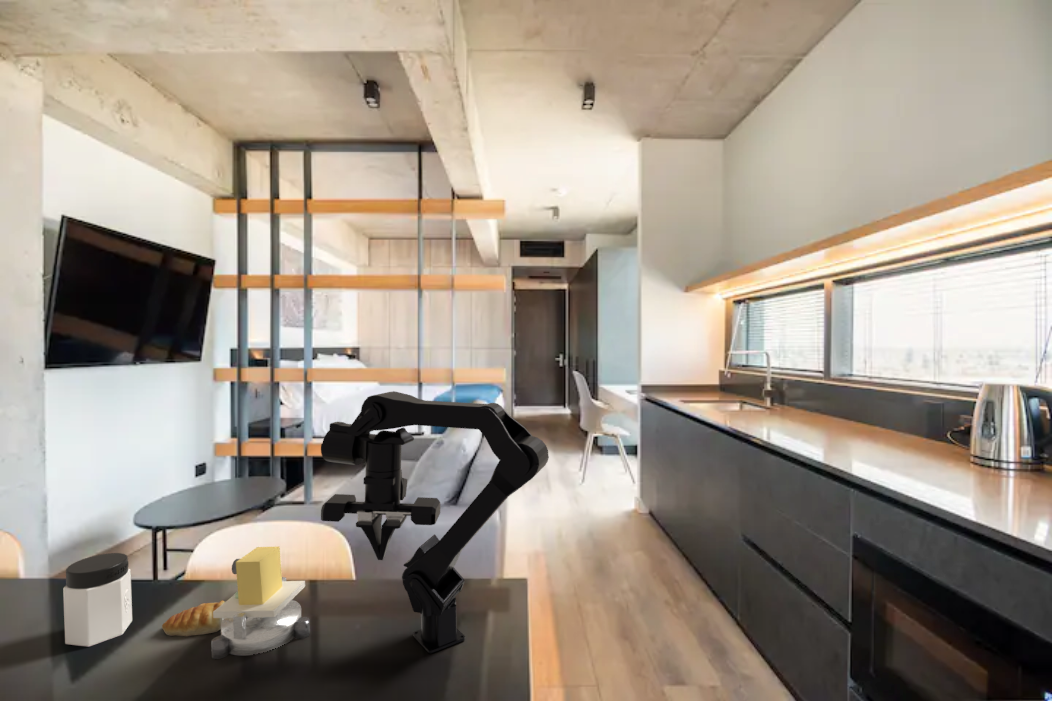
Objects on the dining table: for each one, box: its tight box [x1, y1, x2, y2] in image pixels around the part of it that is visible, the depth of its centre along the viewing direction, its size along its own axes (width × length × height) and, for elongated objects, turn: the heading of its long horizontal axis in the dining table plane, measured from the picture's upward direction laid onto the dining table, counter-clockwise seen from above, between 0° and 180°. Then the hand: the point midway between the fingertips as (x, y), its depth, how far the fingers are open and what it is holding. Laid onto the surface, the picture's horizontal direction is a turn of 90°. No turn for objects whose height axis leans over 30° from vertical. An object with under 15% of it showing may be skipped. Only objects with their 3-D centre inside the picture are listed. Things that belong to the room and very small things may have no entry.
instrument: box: [213, 546, 306, 619], centre depth 88 cm, size 10×11×8 cm
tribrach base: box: [210, 576, 311, 660], centre depth 88 cm, size 14×14×6 cm
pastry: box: [161, 600, 226, 637], centre depth 91 cm, size 9×7×4 cm
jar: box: [62, 552, 133, 647], centre depth 89 cm, size 9×8×12 cm
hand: (381, 559), depth 89 cm, fingers closed
